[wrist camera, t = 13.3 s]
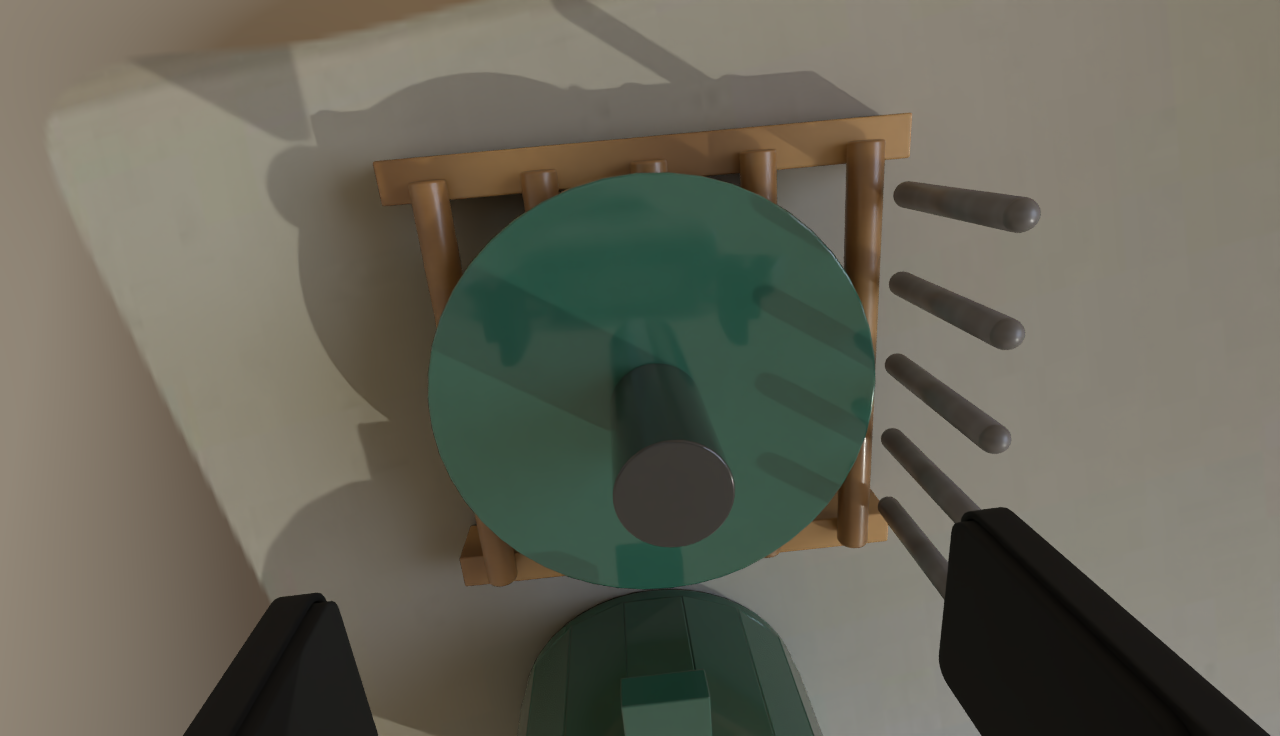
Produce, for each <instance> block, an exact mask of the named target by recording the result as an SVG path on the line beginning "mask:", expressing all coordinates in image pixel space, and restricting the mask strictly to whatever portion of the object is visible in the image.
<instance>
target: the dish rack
mask: <svg viewBox="0 0 1280 736" xmlns="http://www.w3.org/2000/svg"><path fill="white" fill-rule="evenodd" d="M911 123H912V113H901V114H890V115H878V116H867V117H856V118H845V119H834V120H823V121H812V122H801V123H790V124H779V125H768V126H757V127H746V128H735V129H724V130H713V131H702V132H691V133H680V134H669V135H658V136H647V137H636V138H625V139H614V140H603V141H592V142H581V143H570V144H559V145H548V146H537V147H526V148H515V149H504V150H493V151H482V152H471V153H459V154H448V155H437V156H426V157H415V158H404V159H394V160H383V161H374V162H373V167H374V171H375V176H376V180H377V185H378V190H379V194H380V199H381V203H382V206H392V205H403V204H412V209H413V214H414V219H415V224H416V229H417V233H418V238H419V243H420V248H421V253H422V258H423V263H424V268H425V273H426V278H427V283H428V288H429V292H430V297H431V302H432V307H433V312H434V317H435V322H436V327H437V326H438V323H439V319H440V316H441V314H442V312H443V310H444V308H445V305H446V303H447V301H448V299H449V297H450V295H451V292H452V290H453V288H454V287H455V285H456V284H457V282H458V281H459V279H460V278H461V276H462V275H463V271H462V265H461V260H460V254H459V249H458V243H457V238H456V232H455V227H454V222H453V216H452V211H451V205H450V200H457V199H468V198H479V197H489V196H500V195H511V194H523V201H524V208H525V212H526V211H527V210H529V209H530V208H532V207H533V206H535V205H537V204H538V203H540V202H541V201H543V200H545V199H547V198H549V197H551V196H553V195H555V194H558V193H559V190H565V189H568V188H571V187H573V186H576V185H579V184H583V183H586V182H589V181H592V180H596V179H599V178H602V177H607V176H614V175H620V174H626V173H632V172H657V171H670V172H678V173H687V174H696V175H701V176H716V175H727V174H738V173H740V187H742V188H744V189H746V190H749V191H751V192H754V193H756V194H759V195H761V196H763V197H765V198H766V199H768V200H770V201H771V202H773V203H775V204H777V170H781V169H792V168H803V167H814V166H824V165H835V164H846V200H845V239H844V270H845V271H846V273H847V274H848V276H849V277H850V279H851V281H852V283H853V285H854V287H855V290H856V292H857V294H858V296H859V298H860V300H861V302H862V305H863V308H864V311H865V314H866V317H867V320H868V324H869V327H870V331H871V337H872V343H873V349H874V355H875V364H876V342H877V320H878V298H879V276H880V254H881V232H882V210H883V188H884V166H885V160H889V159H900V158H908V157H909V156H910V140H911ZM893 197H894V201H895V203H896V204H897V205H898V206H900V207H903V208H907V209H912V210H916V211H921V212H925V213H930V214H934V215H939V216H943V217H947V218H952V219H956V220H961V221H965V222H970V223H974V224H978V225H983V226H987V227H992V228H996V229H1001V230H1005V231H1010V232H1014V233H1021V232H1026V231H1028V230H1030V229H1032V228H1033V227H1034V226H1035V225H1036V224H1037V223H1038V221H1039V219H1040V215H1041V211H1040V207H1039V205H1038V204H1037V203H1036V202H1035V201H1034V200H1033V199H1031V198H1027V197H1021V196H1013V195H1006V194H999V193H991V192H984V191H976V190H969V189H962V188H954V187H947V186H940V185H932V184H925V183H918V182H910V181H908V182H903V183H901V184H900V185H898V186H897V187H896V189H895V191H894V195H893ZM889 288H890V290H891V292H892V293H894V294H895V295H897V296H899V297H901V298H903V299H905V300H906V301H908V302H910V303H912V304H914V305H916V306H918V307H920V308H922V309H924V310H925V311H927V312H929V313H931V314H933V315H935V316H937V317H939V318H941V319H943V320H944V321H946V322H948V323H950V324H952V325H954V326H956V327H958V328H960V329H961V330H963V331H965V332H967V333H969V334H971V335H973V336H975V337H977V338H979V339H980V340H982V341H984V342H986V343H988V344H990V345H992V346H994V347H996V348H998V349H1001V350H1010V349H1014V348H1016V347H1018V346H1019V345H1020V344H1021V343H1022V341H1023V340H1024V337H1025V330H1024V327H1023V325H1022V324H1021V323H1020V322H1019V321H1018V320H1016V319H1014V318H1011V317H1009V316H1007V315H1004V314H1002V313H1000V312H998V311H995V310H993V309H991V308H988V307H986V306H984V305H981V304H979V303H977V302H974V301H972V300H970V299H968V298H965V297H963V296H961V295H958V294H956V293H954V292H951V291H949V290H947V289H945V288H942V287H940V286H938V285H935V284H933V283H931V282H928V281H926V280H924V279H921V278H919V277H917V276H915V275H912V274H910V273H908V272H898V273H896V274H894V275H893V276H892V277H891V279H890V281H889ZM885 369H886V371H887V372H888V373H889V374H890V375H891V376H892V377H894V378H895V379H896V380H897V381H899V382H900V383H901V384H902V385H903V386H905V387H906V388H907V389H908V390H910V391H911V392H912V393H913V394H915V395H916V396H917V397H918V398H919V399H921V400H922V401H923V402H924V403H926V404H927V405H928V406H929V407H931V408H932V409H933V410H934V411H935V412H937V413H938V414H939V415H940V416H942V417H943V418H944V419H945V420H947V421H948V422H949V423H950V424H951V425H953V426H954V427H955V428H956V429H958V430H959V431H960V432H961V433H963V434H964V435H965V436H966V437H967V438H969V439H970V440H971V441H972V442H974V443H975V444H976V445H977V446H979V447H980V448H981V449H982V450H984V451H985V452H988V453H991V454H998V453H1002V452H1004V451H1005V450H1007V449H1008V448H1009V446H1010V444H1011V434H1010V432H1009V431H1008V430H1007V428H1005V427H1004V426H1003V425H1001V424H1000V423H999V422H997V421H996V420H994V419H993V418H992V417H990V416H989V415H987V414H986V413H985V412H983V411H982V410H980V409H979V408H978V407H976V406H975V405H973V404H972V403H970V402H969V401H968V400H966V399H965V398H963V397H962V396H961V395H959V394H958V393H956V392H955V391H954V390H952V389H951V388H949V387H948V386H947V385H945V384H944V383H942V382H941V381H940V380H938V379H937V378H935V377H934V376H933V375H931V374H930V373H928V372H927V371H926V370H924V369H923V368H921V367H920V366H918V365H917V364H916V363H914V362H913V361H911V360H910V359H909V358H907V357H906V356H904V355H902V354H892V355H890V356H889V357H888V358H887V359H886V362H885ZM873 409H874V400H873V408H872V413H871V417H870V421H869V425H868V429H867V433H866V436H865V439H864V441H863V444H862V446H861V449H860V451H859V454H858V457H857V459H856V461H855V463H854V465H853V467H852V468H851V470H850V472H849V474H848V476H847V477H846V479H845V481H844V483H843V484H842V486H841V487H840V488H839V490H838V491H837V493H836V494H835V495H834V497H833V498H832V499H831V501H830V502H829V504H828V505H827V506H826V507H825V508H824V509H823V510H822V511H821V512H820V513H819V515H818V516H817V517H816V518H815V519H814V520H813V521H812V522H811V523H810V524H809V525H808V526H807V527H806V528H804V529H803V530H802V531H801V532H800V533H799V534H797V535H796V536H795V537H794V538H793V539H792V540H790V541H789V542H787V543H786V544H784V545H783V546H781V547H780V548H779V549H777V550H776V551H774V552H773V553H771V554H770V555H768V556H766V557H764V558H770V557H774V556H776V555H778V554H779V552H788V551H797V550H807V549H816V548H825V547H834V546H846V547H849V548H860V547H863V546H864V545H865V544H866V543H871V542H880V541H887V535H888V525H889V526H890V527H891V529H892V530H893V532H894V533H895V534H896V536H897V537H898V538H899V540H900V541H901V542H902V544H903V545H904V546H905V548H906V549H907V550H908V552H909V553H910V554H911V556H912V557H913V558H914V560H915V561H916V562H917V564H918V565H919V566H920V568H921V569H922V570H923V572H924V573H925V574H926V576H927V577H928V578H929V580H930V581H931V582H932V584H933V585H934V586H935V588H936V589H937V590H938V592H939V593H940V594H941V596H942V597H943V598H944V600H945V591H946V581H947V571H948V562H947V560H946V559H945V558H944V557H943V556H942V554H941V553H940V552H939V551H938V550H937V548H936V547H935V546H934V545H933V543H932V542H931V541H930V540H929V539H928V537H927V536H926V535H925V534H924V532H923V531H922V530H921V529H920V528H919V526H918V525H917V524H916V523H915V522H914V520H913V519H912V518H911V517H910V515H909V514H908V513H907V512H906V511H905V509H904V508H903V507H902V506H901V504H900V503H899V502H898V501H897V500H896V499H895V498H893V497H884V498H882V499H881V500H880V501H879V499H878V498H877V497H876V496H875V494H874V493H873V492H872V490H871V489H870V475H871V453H872V431H873ZM881 442H882V444H883V446H884V447H885V448H886V449H887V450H888V451H889V452H890V453H891V454H892V456H893V457H894V458H895V459H896V460H897V461H898V462H899V463H900V464H901V465H902V466H903V467H904V469H905V470H906V471H907V472H908V473H909V474H910V475H911V476H912V477H913V478H914V479H915V480H916V482H917V483H918V484H919V485H920V486H921V487H922V488H923V489H924V490H925V491H926V492H927V493H928V495H929V496H930V497H931V498H932V499H933V500H934V501H935V502H936V503H937V504H938V505H939V506H940V508H941V509H942V510H943V511H944V512H945V513H946V514H947V515H948V516H949V517H950V518H951V519H952V521H953V522H954V523H958V522H961V518H962V516H963V514H964V513H966V512H968V511H975V510H981V509H980V508H979V507H978V506H977V505H976V504H975V503H974V502H973V501H972V500H971V499H970V498H969V497H968V496H967V495H966V494H965V493H964V492H963V491H962V490H961V489H960V488H959V487H958V486H957V485H956V484H955V483H954V482H953V481H952V480H951V479H949V478H948V477H947V476H946V475H945V474H944V473H943V472H942V471H941V470H940V469H939V468H938V467H937V466H936V465H935V464H934V463H933V462H932V461H931V460H930V459H929V458H928V457H927V456H926V455H925V454H924V453H923V452H922V451H921V450H920V449H919V448H918V447H917V446H916V445H915V444H913V443H912V442H911V441H910V440H909V439H908V438H907V437H906V436H905V435H904V434H903V433H902V432H901V431H900V430H898V429H895V428H890V429H887V430H885V431H884V432H883V434H882V436H881ZM474 514H475V513H474ZM475 519H476V523H477V525H476V526H471V527H470V529H469V532H468V535H467V538H466V541H465V544H464V547H463V550H462V553H461V556H460V563H461V568H462V572H463V577H464V582H465V585H466V586H474V585H483V584H491V585H493V586H497V587H500V586H506V585H508V584H510V583H512V582H513V581H520V580H529V579H539V578H548V577H557V576H565V575H563V574H560V573H558V572H556V571H553V570H551V569H548V568H546V567H544V566H542V565H540V564H538V563H536V562H535V561H533V560H531V559H529V558H527V557H526V556H524V555H522V554H520V553H519V552H518V551H516V550H515V549H514V548H512V547H511V546H509V545H508V544H507V543H505V542H504V541H502V540H501V539H500V538H499V537H498V536H497V535H496V534H495V533H493V532H492V531H491V530H490V529H489V528H488V527H487V526H486V525H485V524H484V523H483V522H482V521H481V520H480V519H479V518H478V517H477V515H476V514H475Z"/></svg>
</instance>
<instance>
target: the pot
mask: <svg viewBox="0 0 1280 736" xmlns="http://www.w3.org/2000/svg"><path fill="white" fill-rule="evenodd" d="M517 736H823V734H822V732H821V729H820V726H819V724H818V721H817V718H816V716H815V713H814V710H813V708H812V705H811V702H810V700H809V697H808V694H807V692H806V689H805V686H804V683H803V681H802V678H801V675H800V673H799V671H798V670H797V668H796V666H795V664H794V662H793V660H792V658H791V656H790V653H789V651H788V649H787V647H786V645H785V644H784V642H783V641H782V639H781V638H780V636H779V635H778V634H777V633H776V632H775V631H774V630H773V629H772V627H771V626H770V625H769V624H768V623H767V622H765V621H764V620H763V619H761V618H760V617H759V616H758V615H756V614H755V613H754V612H752V611H750V610H748V609H747V608H745V607H743V606H742V605H740V604H737V603H735V602H733V601H730V600H728V599H726V598H722V597H719V596H715V595H712V594H708V593H703V592H697V591H691V590H675V589H666V590H651V591H644V592H638V593H632V594H629V595H625V596H622V597H618V598H614V599H612V600H609V601H607V602H604V603H602V604H599V605H597V606H595V607H593V608H591V609H590V610H588V611H586V612H584V613H582V614H580V615H579V616H578V617H576V618H575V619H573V620H572V621H570V622H569V623H568V624H566V625H565V626H564V627H563V628H562V629H561V630H560V631H559V632H558V633H556V634H555V635H554V636H553V638H552V639H551V640H550V641H549V642H548V644H547V645H546V646H545V647H544V648H543V650H542V651H541V653H540V655H539V656H538V658H537V660H536V661H535V663H534V666H533V668H532V670H531V673H530V675H529V679H528V683H527V687H526V692H525V696H524V699H523V702H522V705H521V712H520V719H519V726H518V733H517Z"/></svg>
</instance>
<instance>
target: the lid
mask: <svg viewBox="0 0 1280 736" xmlns="http://www.w3.org/2000/svg"><path fill="white" fill-rule="evenodd" d="M874 391H875V355H874V349H873V343H872V337H871V331H870V327H869V324H868V320H867V317H866V314H865V311H864V308H863V305H862V302H861V300H860V298H859V296H858V294H857V292H856V290H855V287H854V285H853V283H852V281H851V279H850V277H849V276H848V274H847V273H846V271H845V270H844V268H843V267H842V265H841V264H840V263H839V261H838V260H837V258H836V257H835V255H834V254H833V252H832V251H831V250H830V249H829V248H828V247H827V246H826V245H825V244H824V243H823V242H822V241H821V239H820V238H819V237H818V236H817V235H816V234H815V233H814V232H813V231H812V230H811V229H810V228H808V227H807V226H806V225H805V224H803V223H802V222H801V221H800V220H798V219H797V218H796V217H795V216H793V215H792V214H791V213H790V212H788V211H787V210H785V209H783V208H782V207H780V206H778V205H777V204H775V203H773V202H771V201H770V200H768V199H766V198H765V197H763V196H761V195H759V194H756V193H754V192H751V191H749V190H746V189H744V188H742V187H739V186H737V185H734V184H732V183H729V182H725V181H721V180H717V179H713V178H709V177H705V176H701V175H696V174H687V173H678V172H670V171H657V172H632V173H626V174H620V175H614V176H607V177H602V178H599V179H596V180H592V181H589V182H586V183H583V184H579V185H576V186H573V187H571V188H568V189H566V190H564V191H562V192H560V193H558V194H555V195H553V196H551V197H549V198H547V199H545V200H543V201H541V202H540V203H538V204H537V205H535V206H533V207H532V208H530V209H529V210H527V211H526V212H524V213H523V214H521V215H519V216H518V217H516V218H515V219H514V220H513V221H512V222H511V223H509V224H508V225H507V226H506V227H505V228H504V229H503V230H501V231H500V232H499V233H498V234H497V235H496V236H494V237H493V238H492V239H491V240H490V241H489V242H488V243H487V245H486V246H485V247H484V248H483V249H482V250H481V251H480V252H479V254H478V255H477V256H476V257H475V258H474V259H473V260H472V262H471V263H470V264H469V265H468V267H467V269H466V270H465V272H464V273H463V275H462V276H461V278H460V279H459V281H458V282H457V284H456V285H455V287H454V288H453V290H452V292H451V295H450V297H449V299H448V301H447V303H446V305H445V308H444V310H443V312H442V314H441V316H440V319H439V323H438V326H437V329H436V333H435V336H434V339H433V343H432V348H431V355H430V362H429V368H428V405H429V412H430V419H431V426H432V430H433V434H434V437H435V441H436V444H437V447H438V451H439V454H440V456H441V458H442V461H443V463H444V465H445V467H446V470H447V472H448V474H449V476H450V478H451V480H452V482H453V483H454V485H455V486H456V488H457V490H458V491H459V493H460V494H461V496H462V498H463V499H464V501H465V502H466V503H467V505H468V506H469V507H470V508H471V509H472V511H473V512H474V513H475V514H476V515H477V517H478V518H479V519H480V520H481V521H482V522H483V523H484V524H485V525H486V526H487V527H488V528H489V529H490V530H491V531H492V532H493V533H495V534H496V535H497V536H498V537H499V538H500V539H501V540H502V541H504V542H505V543H507V544H508V545H509V546H511V547H512V548H514V549H515V550H516V551H518V552H519V553H520V554H522V555H524V556H526V557H527V558H529V559H531V560H533V561H535V562H536V563H538V564H540V565H542V566H544V567H546V568H548V569H551V570H553V571H556V572H558V573H560V574H563V575H565V576H568V577H571V578H575V579H578V580H582V581H585V582H589V583H592V584H598V585H604V586H610V587H616V588H629V589H661V588H674V587H680V586H686V585H692V584H697V583H701V582H705V581H708V580H712V579H716V578H719V577H722V576H725V575H727V574H730V573H733V572H735V571H738V570H740V569H743V568H745V567H747V566H749V565H751V564H753V563H755V562H757V561H759V560H760V559H762V558H764V557H766V556H768V555H770V554H771V553H773V552H774V551H776V550H777V549H779V548H780V547H781V546H783V545H784V544H786V543H787V542H789V541H790V540H792V539H793V538H794V537H795V536H796V535H797V534H799V533H800V532H801V531H802V530H803V529H804V528H806V527H807V526H808V525H809V524H810V523H811V522H812V521H813V520H814V519H815V518H816V517H817V516H818V515H819V513H820V512H821V511H822V510H823V509H824V508H825V507H826V506H827V505H828V504H829V502H830V501H831V499H832V498H833V497H834V495H835V494H836V493H837V491H838V490H839V488H840V487H841V486H842V484H843V483H844V481H845V479H846V477H847V476H848V474H849V472H850V470H851V468H852V467H853V465H854V463H855V461H856V459H857V457H858V454H859V451H860V449H861V446H862V444H863V441H864V439H865V436H866V433H867V429H868V425H869V421H870V417H871V413H872V408H873V400H874Z"/></svg>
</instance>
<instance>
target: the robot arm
mask: <svg viewBox="0 0 1280 736" xmlns="http://www.w3.org/2000/svg"><path fill="white" fill-rule="evenodd" d="M939 664H940V668H941V672H942V675H943V677H944V679H945V681H946V683H947V685H948V686H949V688H950V689H951V691H952V692H953V694H954V695H955V697H956V698H957V700H958V701H959V703H960V704H961V706H962V707H963V709H964V710H965V712H966V713H967V715H968V716H969V718H970V719H971V721H972V722H973V724H974V725H975V727H976V728H977V730H978V731H979V733H980V734H981V735H982V736H1270V735H1269V734H1268V733H1267V732H1266V731H1265V730H1263V729H1262V728H1261V727H1260V726H1259V725H1258V724H1256V723H1255V722H1254V721H1253V720H1252V719H1251V718H1250V717H1248V716H1247V715H1246V714H1245V713H1244V712H1243V711H1241V710H1240V709H1239V708H1238V707H1237V706H1236V705H1235V704H1233V703H1232V702H1231V701H1230V700H1229V699H1228V698H1227V697H1225V696H1224V695H1223V694H1222V693H1221V692H1220V691H1218V690H1217V689H1216V688H1215V687H1214V686H1213V685H1212V684H1210V683H1209V682H1208V681H1207V680H1206V679H1205V678H1203V677H1202V676H1201V675H1200V674H1199V673H1198V672H1197V671H1195V670H1194V669H1193V668H1192V667H1191V666H1190V665H1189V664H1187V663H1186V662H1185V661H1184V660H1183V659H1182V658H1180V657H1179V656H1178V655H1177V654H1176V653H1175V652H1174V651H1172V650H1171V649H1170V648H1169V647H1168V646H1167V645H1165V644H1164V643H1163V642H1162V641H1161V640H1160V639H1159V638H1157V637H1156V636H1155V635H1154V634H1153V633H1152V632H1150V631H1149V630H1148V629H1147V628H1146V627H1145V626H1144V625H1142V624H1141V623H1140V622H1139V621H1138V620H1137V619H1136V618H1134V617H1133V616H1132V615H1131V614H1130V613H1129V612H1127V611H1126V610H1125V609H1124V608H1123V607H1122V606H1121V605H1119V604H1118V603H1117V602H1116V601H1115V600H1114V599H1112V598H1111V597H1110V596H1109V595H1108V594H1107V593H1106V592H1104V591H1103V590H1102V589H1101V588H1100V587H1099V586H1098V585H1096V584H1095V583H1094V582H1093V581H1092V580H1091V579H1089V578H1088V577H1087V576H1086V575H1085V574H1084V573H1083V572H1081V571H1080V570H1079V569H1078V568H1077V567H1076V566H1074V565H1073V564H1072V563H1071V562H1070V561H1069V560H1068V559H1066V558H1065V557H1064V556H1063V555H1062V554H1061V553H1060V552H1058V551H1057V550H1056V549H1055V548H1054V547H1053V546H1051V545H1050V544H1049V543H1048V542H1047V541H1046V540H1045V539H1043V538H1042V537H1041V536H1040V535H1039V534H1038V533H1036V532H1035V531H1034V530H1033V529H1032V528H1031V527H1030V526H1028V525H1027V524H1026V523H1025V522H1024V521H1023V520H1021V519H1020V518H1019V517H1018V516H1017V515H1016V514H1015V513H1013V512H1012V511H1011V510H1009V509H1008V508H1003V507H999V508H991V509H983V510H975V511H968V512H966V513H964V514H963V516H962V518H961V522H958V523H955V524H954V526H953V527H952V532H951V542H950V552H949V561H948V571H947V581H946V591H945V601H944V610H943V620H942V630H941V640H940V650H939ZM183 736H378V733H377V730H376V726H375V723H374V720H373V717H372V713H371V710H370V707H369V704H368V701H367V697H366V694H365V691H364V688H363V685H362V681H361V678H360V675H359V672H358V668H357V665H356V662H355V659H354V656H353V652H352V649H351V646H350V643H349V639H348V636H347V633H346V630H345V627H344V623H343V620H342V617H341V614H340V611H339V608H338V606H337V604H336V603H335V602H333V601H329V602H327V601H326V599H325V597H324V596H323V595H322V594H321V593H310V594H302V595H294V596H286V597H279V598H277V599H275V600H274V601H273V602H272V603H271V605H270V606H269V608H268V609H267V611H266V612H265V614H264V615H263V616H262V618H261V620H260V621H259V622H258V624H257V626H256V627H255V628H254V630H253V632H252V633H251V635H250V636H249V637H248V639H247V641H246V642H245V644H244V645H243V646H242V648H241V650H240V651H239V652H238V654H237V656H236V657H235V658H234V660H233V661H232V663H231V665H230V666H229V667H228V669H227V670H226V672H225V673H224V675H223V676H222V678H221V680H220V681H219V683H218V684H217V686H216V687H215V688H214V690H213V692H212V693H211V694H210V696H209V697H208V699H207V700H206V702H205V704H204V705H203V706H202V708H201V710H200V711H199V713H198V714H197V715H196V717H195V719H194V720H193V721H192V723H191V724H190V726H189V727H188V729H187V730H186V732H185V733H184V735H183Z"/></svg>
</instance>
